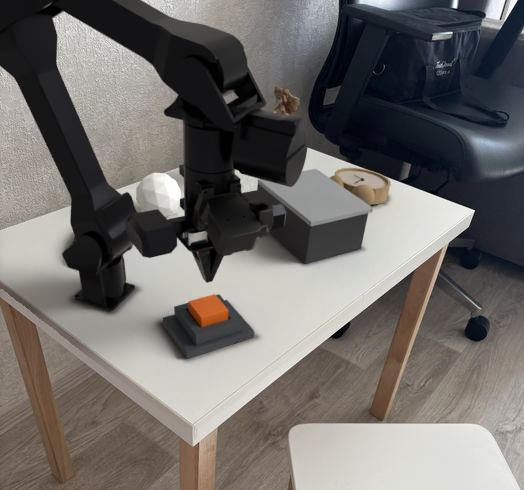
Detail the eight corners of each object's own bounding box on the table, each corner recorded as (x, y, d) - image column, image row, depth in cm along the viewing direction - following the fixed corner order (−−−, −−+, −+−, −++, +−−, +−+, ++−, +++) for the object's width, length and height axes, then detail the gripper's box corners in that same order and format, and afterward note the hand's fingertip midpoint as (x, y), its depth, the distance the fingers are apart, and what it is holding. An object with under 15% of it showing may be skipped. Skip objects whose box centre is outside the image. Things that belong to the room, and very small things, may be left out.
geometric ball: (170, 231, 104) (183, 210, 97) (127, 217, 101) (137, 194, 94) (176, 196, 106) (190, 173, 99) (134, 181, 103) (145, 157, 96)
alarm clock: (400, 179, 114) (370, 191, 103) (393, 203, 117) (362, 217, 106) (351, 163, 119) (316, 173, 108) (345, 186, 122) (311, 198, 110)
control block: (187, 359, 74) (186, 341, 72) (162, 324, 79) (161, 307, 77) (253, 337, 78) (255, 320, 76) (226, 306, 83) (227, 289, 81)
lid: (315, 172, 105) (316, 168, 104) (372, 212, 94) (373, 207, 94) (257, 183, 100) (257, 179, 99) (310, 226, 89) (311, 222, 89)
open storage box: (307, 207, 109) (311, 173, 104) (361, 249, 98) (368, 213, 94) (254, 219, 104) (257, 183, 100) (305, 264, 94) (310, 226, 89)
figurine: (255, 158, 125) (259, 85, 115) (273, 152, 128) (280, 81, 119) (279, 169, 121) (286, 95, 111) (298, 163, 125) (306, 90, 115)
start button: (201, 328, 75) (201, 317, 74) (188, 311, 77) (188, 301, 76) (228, 320, 77) (228, 309, 75) (214, 304, 79) (214, 293, 78)
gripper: (159, 210, 54) (165, 336, 64) (319, 179, 62) (302, 296, 72) (118, 164, 61) (129, 285, 71) (267, 142, 69) (258, 253, 79)
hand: (207, 280), depth 73 cm, fingers closed
